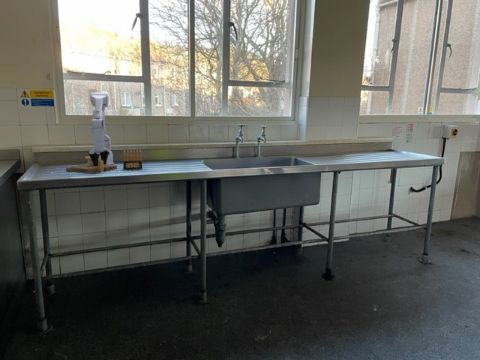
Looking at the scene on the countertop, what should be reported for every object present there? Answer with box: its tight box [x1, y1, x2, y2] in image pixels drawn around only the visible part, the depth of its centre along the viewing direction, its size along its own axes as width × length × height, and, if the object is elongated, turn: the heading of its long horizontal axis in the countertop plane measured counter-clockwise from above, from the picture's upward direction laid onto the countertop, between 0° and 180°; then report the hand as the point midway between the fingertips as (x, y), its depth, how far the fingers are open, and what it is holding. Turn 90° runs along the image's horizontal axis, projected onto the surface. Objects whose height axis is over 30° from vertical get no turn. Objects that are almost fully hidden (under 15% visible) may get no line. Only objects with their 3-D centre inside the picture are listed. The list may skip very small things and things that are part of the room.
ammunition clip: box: [122, 148, 143, 171], centre depth 209 cm, size 11×2×12 cm, turn 110°
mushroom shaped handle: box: [84, 155, 94, 166], centre depth 208 cm, size 6×6×5 cm
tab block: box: [96, 160, 105, 173], centre depth 200 cm, size 3×3×6 cm
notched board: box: [65, 162, 118, 175], centre depth 205 cm, size 18×20×2 cm
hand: (100, 165), depth 200 cm, fingers open, 7 cm apart
